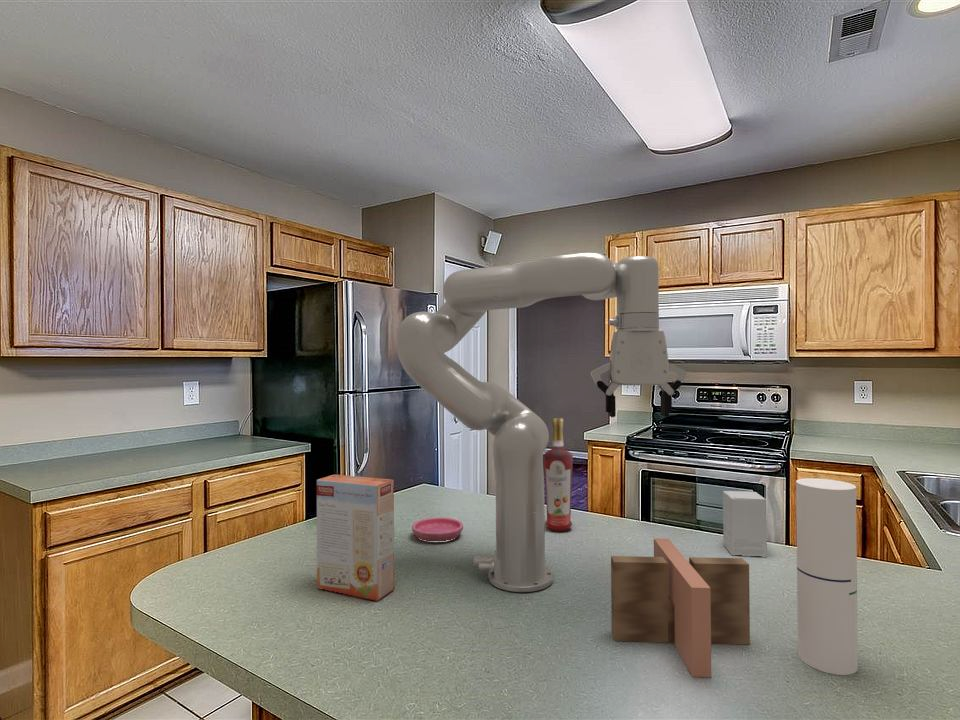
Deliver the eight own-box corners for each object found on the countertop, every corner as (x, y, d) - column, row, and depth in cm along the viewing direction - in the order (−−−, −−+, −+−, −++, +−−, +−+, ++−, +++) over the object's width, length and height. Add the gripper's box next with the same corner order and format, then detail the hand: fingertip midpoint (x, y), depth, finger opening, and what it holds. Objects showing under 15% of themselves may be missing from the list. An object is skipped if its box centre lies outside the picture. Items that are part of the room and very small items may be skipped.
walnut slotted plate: (614, 640, 81) (613, 562, 81) (611, 632, 84) (610, 556, 84) (749, 644, 80) (749, 564, 80) (742, 635, 82) (742, 558, 82)
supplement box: (767, 558, 115) (767, 499, 115) (730, 555, 116) (730, 497, 116) (757, 546, 122) (756, 491, 122) (722, 544, 123) (722, 489, 123)
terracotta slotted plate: (711, 677, 72) (710, 587, 72) (692, 676, 72) (691, 587, 72) (669, 608, 92) (668, 538, 92) (654, 608, 92) (653, 538, 92)
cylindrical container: (786, 648, 79) (784, 478, 79) (832, 645, 79) (830, 477, 79) (821, 676, 72) (819, 490, 72) (871, 673, 72) (869, 488, 72)
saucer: (468, 542, 126) (468, 529, 126) (416, 548, 123) (416, 534, 123) (456, 527, 138) (456, 515, 138) (408, 532, 135) (408, 519, 135)
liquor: (574, 525, 138) (573, 417, 138) (572, 534, 131) (571, 420, 131) (545, 523, 140) (545, 417, 140) (542, 532, 133) (541, 420, 133)
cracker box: (396, 589, 100) (395, 478, 100) (377, 603, 95) (376, 485, 95) (337, 577, 106) (336, 472, 106) (315, 589, 100) (315, 478, 101)
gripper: (593, 323, 96) (594, 418, 96) (692, 322, 95) (692, 418, 95) (587, 326, 103) (588, 414, 103) (679, 325, 102) (679, 414, 102)
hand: (638, 416), depth 99 cm, fingers open, 9 cm apart
